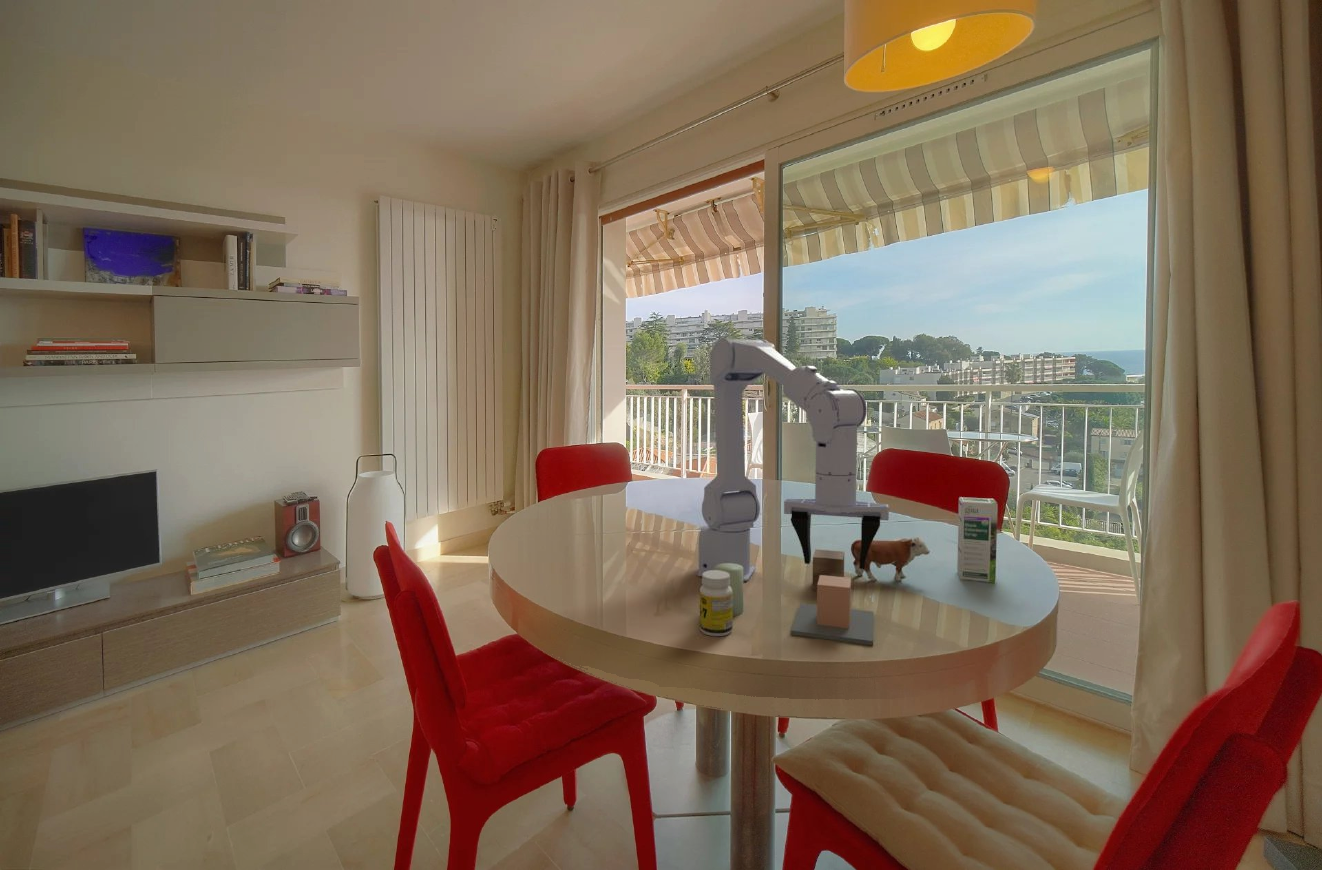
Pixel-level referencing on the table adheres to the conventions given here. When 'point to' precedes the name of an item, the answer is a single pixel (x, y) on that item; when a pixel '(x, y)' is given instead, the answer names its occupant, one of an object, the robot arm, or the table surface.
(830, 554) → the walnut block
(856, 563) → the bull figurine
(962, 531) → the syrup box
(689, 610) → the table surface
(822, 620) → the terracotta brick
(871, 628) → the slate mat
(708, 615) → the supplement bottle
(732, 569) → the sage cylinder
